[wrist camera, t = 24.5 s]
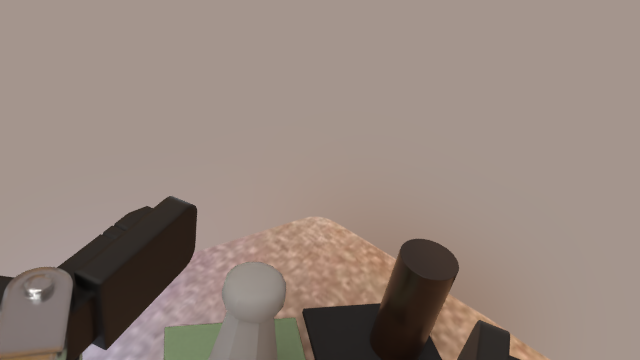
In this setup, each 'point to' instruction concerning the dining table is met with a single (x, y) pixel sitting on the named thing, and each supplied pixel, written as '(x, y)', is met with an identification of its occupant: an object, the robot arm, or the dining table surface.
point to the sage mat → (198, 340)
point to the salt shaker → (250, 313)
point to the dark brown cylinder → (413, 299)
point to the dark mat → (348, 333)
